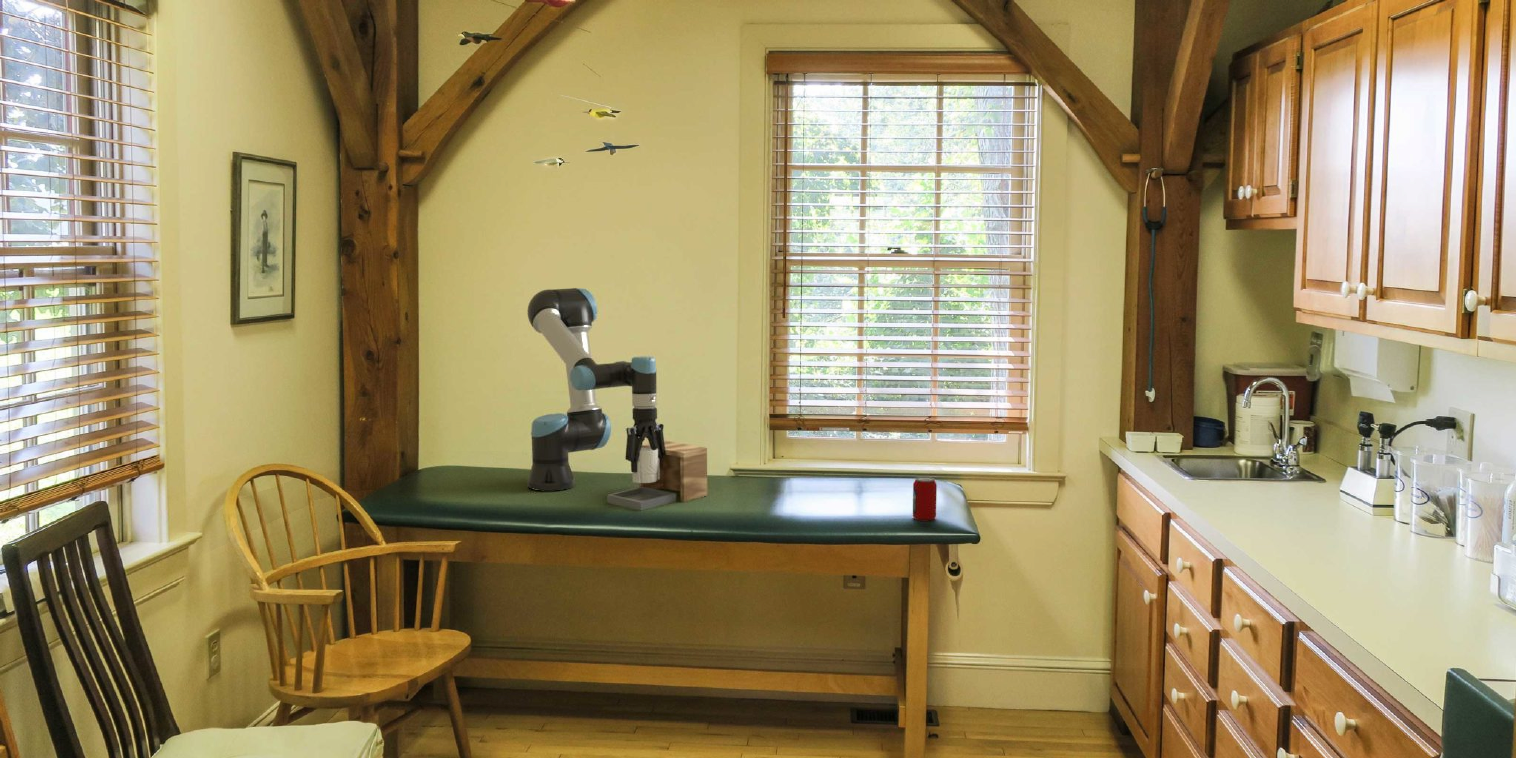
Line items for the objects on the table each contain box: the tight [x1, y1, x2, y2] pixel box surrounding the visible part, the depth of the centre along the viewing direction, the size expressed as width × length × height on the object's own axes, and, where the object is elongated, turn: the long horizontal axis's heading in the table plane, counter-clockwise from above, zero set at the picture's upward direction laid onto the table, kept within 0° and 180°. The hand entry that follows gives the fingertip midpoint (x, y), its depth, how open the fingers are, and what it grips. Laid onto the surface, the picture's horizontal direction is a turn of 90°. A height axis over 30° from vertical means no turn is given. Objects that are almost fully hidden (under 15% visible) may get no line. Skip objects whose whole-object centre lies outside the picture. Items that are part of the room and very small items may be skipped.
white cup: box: [634, 447, 658, 483], centre depth 356 cm, size 8×8×10 cm
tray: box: [606, 486, 677, 511], centre depth 357 cm, size 15×15×2 cm
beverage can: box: [912, 476, 938, 522], centre depth 336 cm, size 7×7×12 cm
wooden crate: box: [638, 440, 708, 503], centre depth 367 cm, size 20×10×16 cm, turn 50°
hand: (646, 480), depth 356 cm, fingers closed on white cup, 7 cm apart
